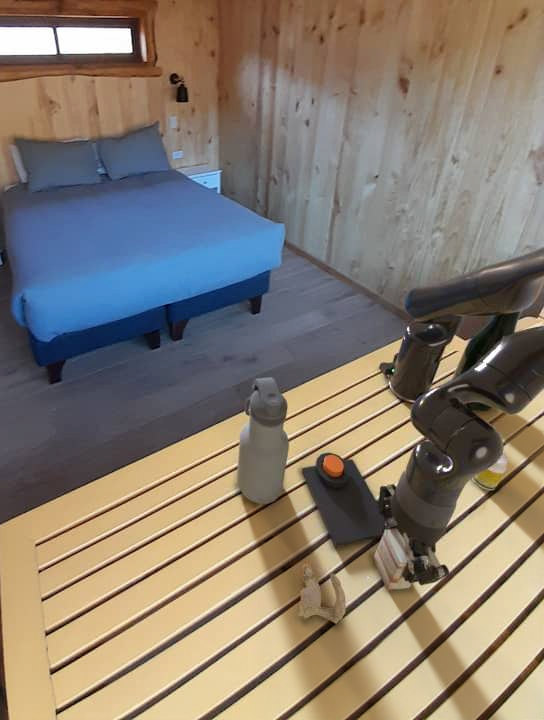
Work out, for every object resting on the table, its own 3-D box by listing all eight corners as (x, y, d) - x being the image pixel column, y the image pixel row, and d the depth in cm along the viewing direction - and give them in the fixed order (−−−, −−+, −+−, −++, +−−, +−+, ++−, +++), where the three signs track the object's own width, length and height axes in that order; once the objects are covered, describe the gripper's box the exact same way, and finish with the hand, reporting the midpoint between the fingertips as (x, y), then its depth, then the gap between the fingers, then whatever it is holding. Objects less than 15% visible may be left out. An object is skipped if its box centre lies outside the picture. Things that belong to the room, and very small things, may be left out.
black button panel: (298, 465, 90) (300, 457, 89) (347, 457, 92) (350, 448, 91) (334, 547, 76) (337, 539, 74) (392, 535, 78) (395, 526, 76)
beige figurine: (275, 587, 69) (307, 548, 67) (297, 577, 73) (327, 541, 71) (310, 648, 63) (346, 608, 60) (331, 634, 67) (366, 596, 64)
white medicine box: (372, 557, 74) (383, 527, 70) (394, 555, 75) (407, 525, 70) (386, 592, 70) (400, 562, 65) (411, 589, 70) (426, 559, 65)
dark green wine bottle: (442, 395, 107) (482, 293, 92) (456, 375, 113) (496, 277, 98) (487, 420, 100) (539, 315, 85) (500, 398, 106) (550, 295, 91)
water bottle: (232, 461, 91) (238, 371, 79) (274, 457, 92) (286, 367, 79) (242, 508, 82) (250, 415, 69) (288, 503, 83) (305, 410, 70)
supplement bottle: (500, 493, 84) (515, 468, 80) (475, 488, 85) (488, 463, 81) (489, 471, 88) (503, 446, 85) (466, 467, 89) (478, 442, 85)
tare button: (319, 461, 88) (320, 456, 88) (336, 458, 89) (337, 453, 88) (328, 479, 85) (329, 474, 84) (345, 475, 85) (347, 470, 85)
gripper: (482, 548, 56) (447, 604, 64) (414, 453, 69) (392, 510, 76) (434, 558, 55) (405, 615, 63) (373, 461, 68) (355, 518, 75)
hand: (398, 557), depth 70 cm, fingers closed on white medicine box, 5 cm apart
